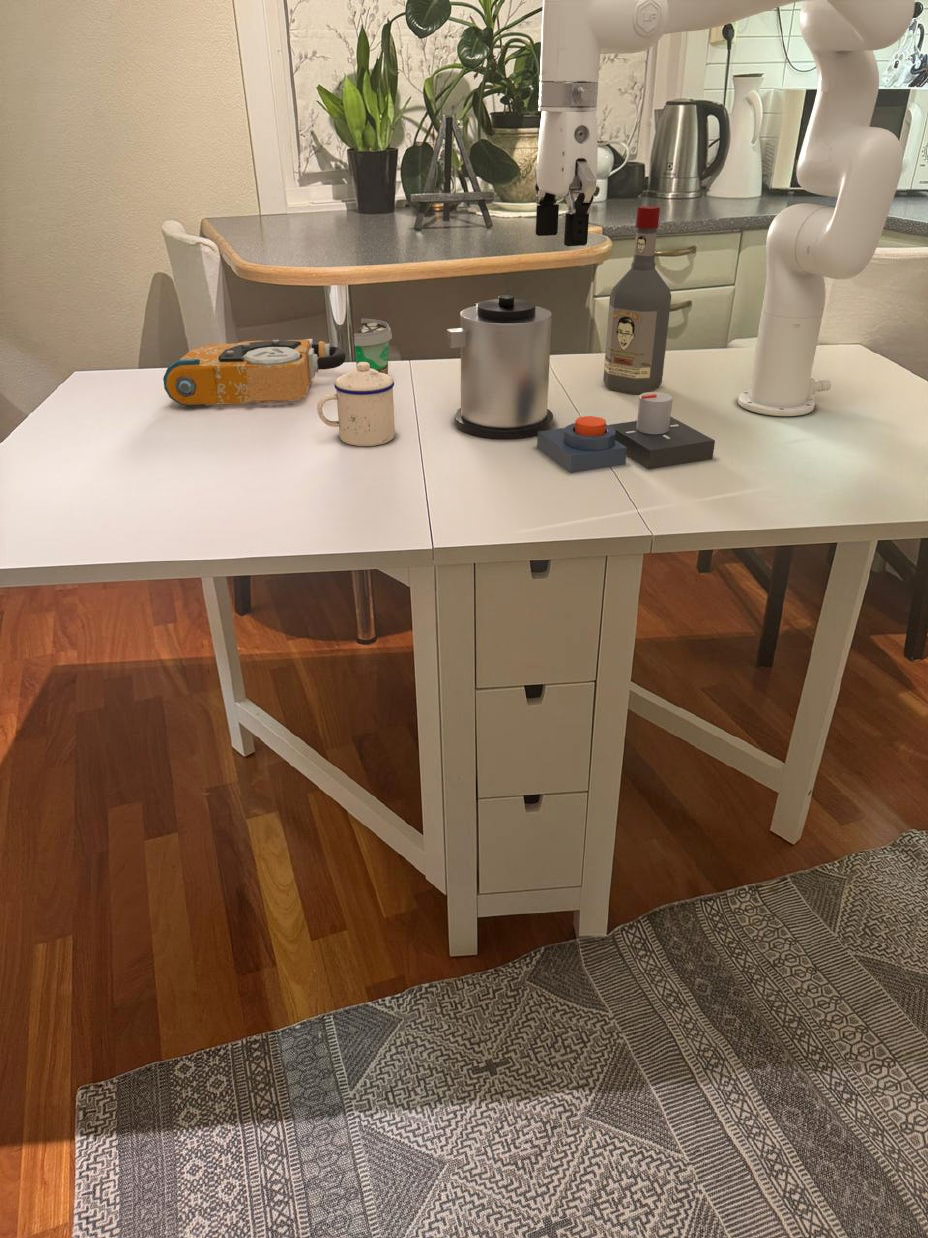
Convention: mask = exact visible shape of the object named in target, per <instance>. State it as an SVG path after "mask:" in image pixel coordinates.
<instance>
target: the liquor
mask: <svg viewBox="0 0 928 1238" xmlns="http://www.w3.org/2000/svg"><path fill="white" fill-rule="evenodd" d="M660 211H661V207H660V206H656V205H639V206H637V209H636V221H635V228H636V232H635V241H634V249H633V252H634V253H633V260H632V262H631V267H630V269H629V270H628V271H627V272H626V273H625V274H624V275H623V276H622V278H620V280H619V281H618V282H616V284H615V285H614V286H613V287H612V289H611V291H610V294H609V301H608V313H607V326H606V327H607V328H606V341H605V352H604V353H605V354H604V367H603V384H604V386H605V387H606V388H607V389H608V390H609V391H612V392H613V391H614V392H619V393H623V394H624V393H625V394H629V395H641V394H642V393H646V392H654V390H657V389H658V388H659V387H660V386H661V385H662V382H663V377H664V376H663V375H664V366H665V360H666V359H665V357H666V350H667V348H666V347H667V338H668V332H669V331H668V330H669V321H670V311H671V304H672V294H671V289H670V287H669V286H668V284H667V283H666V281H665V280H664V279H663V278H662V276H661V275H660V274H659V272H658V271H657V269H656V261H655V257H656V256H655V255H656V244H657V235H658V228H659V223H660Z"/></svg>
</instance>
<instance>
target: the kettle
mask: <svg viewBox="0 0 928 1238" xmlns="http://www.w3.org/2000/svg"><path fill="white" fill-rule="evenodd" d="M552 314H553V313H552V312H551V310H549V309H547V308H545V307H541V306H537V305H536V304H535V303H534V302H532V301H529V300H524V299H516V298H515V296H513V295H510V294H509V295H507V294H505V295H504V294H503V295H499V296H498V298H495V299H487V300H483V301H480V302H476V303H475V302H474V304H473V306H470V307H467V308H464V309H462V310H461V311H460V315H459V316H460V319H459V321H460V325H459V326H460V327H457V328H448V329H446V346H447V347H449V348H450V349H458V348H460V407H459V408H458V409H457V410H456V411H455V412H454V426H455V428H456V429H457V430H459V431H460V432H461V433H463V434H466V435H468V436H472V437H475V438H480V439H487V440H494V441H495V440H496V441H514V440H525V439H531V438H534V437H538V432H539V431H546V430H552V428H553V427H554V426H553V425H554V414H553V412H552V411H551V410H550V409H549V407H548V406H549V405H548V404H549V403H548V401H549V383H550V363H551V362H550V360H551V341H552V340H551V338H552V337H551V336H552V319H553V318H552V316H553V315H552Z"/></svg>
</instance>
